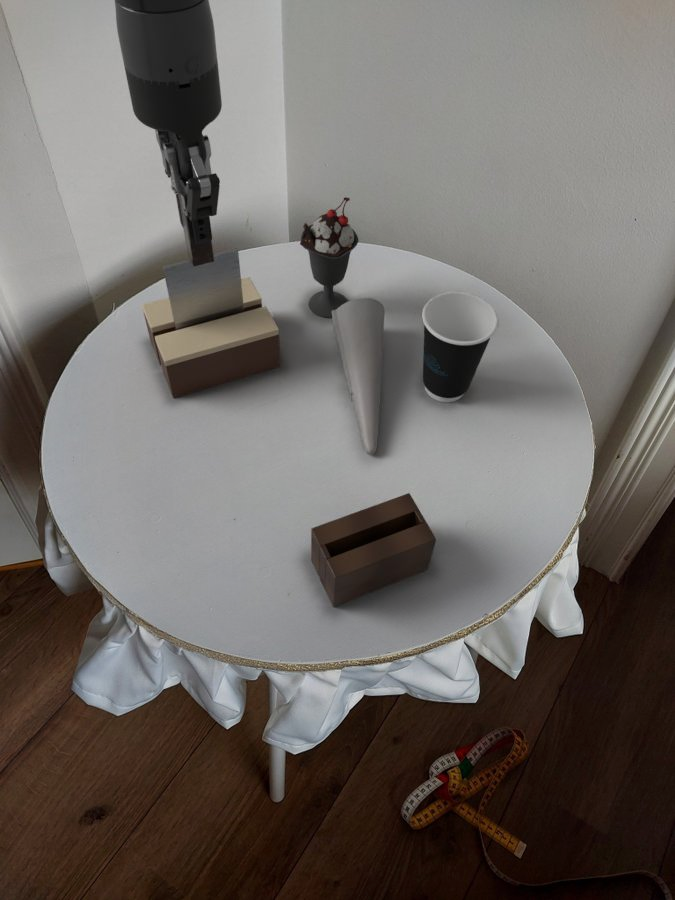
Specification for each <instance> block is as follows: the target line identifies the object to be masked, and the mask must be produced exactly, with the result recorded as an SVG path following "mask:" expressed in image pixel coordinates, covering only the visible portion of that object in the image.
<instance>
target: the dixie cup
mask: <svg viewBox="0 0 675 900" xmlns="http://www.w3.org/2000/svg"><path fill="white" fill-rule="evenodd" d="M421 316H422V322H423V324H424V326H423V355H422V356H423V360H422V361H423V362H422V382H423V385H424V390H425V392H426V394H427V395H428V396H429V397H430V398H432V399H433V400H435V401H437V402H441V403H453V402H457V401H458V400H460V399H461V398H463V397H464V395H465V394H466V393H467V391H468V390H469V388H470V386H471V383H472V382H473V378H474V377H475V375H476V372H477V370H478V368H479V366H480V363H481V360H482V359H483V356H484V354H485V352H486V349H487V347H488V344H489V342H490V340H491V338H492V337H493V335H494V334H495V333H496V332H497V329H498V327H499V316H498V313H497V311H496V310H495V309H494V307H493V306H492V304H490V303H489V302H488V301H487V300H485V299H483V298H482V297H480V296H478V295H476V294H473V293H469V292H465V291H447V292H443V293H439V294H436V295H435V296H433V297H431V298H430V299H429V300H428V301H427V302H426V303H425V305H424V306H423V309H422V314H421Z"/></svg>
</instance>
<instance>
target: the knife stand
mask: <svg viewBox="0 0 675 900" xmlns="http://www.w3.org/2000/svg"><path fill="white" fill-rule="evenodd" d="M310 534H311V535H310V536H311V537H310V541H311V542H310V544H311V545H310V546H311V547H310V560H311V563H312V565H313V567H314V569H315V572H316V573H317V577H318V578H319V580H320V582H321V584H322V587H323V589H324V591H325V593H326V595H327V598H328V599H329V602H330V604H331V606H332V607H333V608H335V607H338V606H340V605H342V604H345V603H347V602H350V601H353V600H355V599H357V598H360V597H363V596H365V595H368V594H370V593H373V592H375V591H378V590H380V589H383V588H385V587H388V586H390V585H393V584H396V583H398V582H400V581H403V580H405V579H408V578H411V577H413V576H416V575H418V574H420V573H423V572H426V571H428V570H429V567H430V563H431V560H432V556H433V552H434V548H435V545H436V543H437V542H436V541H437V538H436V536H435V534H434V532H433V531H432V529H431V527H430V526H429V524H428V522H427V520H426V519H425V517H424V515H423V514H422V512H421V510H420V508H419V506H418V505H417V503H416V502H415V500H414V498H413V497H412V495H411V493H410V492H408V493H405V494H402V495H400V496H397V497H394V498H391V499H389V500H385V501H382V502H380V503H377V504H374V505H372V506H369V507H367V508H364V509H360V510H358V511H356V512H352V513H350V514H347V515H345V516H342V517H339V518H336V519H333V520H331V521H327V522H325V523H322V524H320V525H317V526H315V527H311V529H310Z"/></svg>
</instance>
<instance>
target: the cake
mask: <svg viewBox="0 0 675 900" xmlns="http://www.w3.org/2000/svg"><path fill="white" fill-rule="evenodd" d="M241 285H242V295H243V306H244V312H243V313H239V314H235V315H232V316H228V317H224V318H221V319H217V320H213V321H209V322H206V323H202V324H198V325H195V326H191V327H187V328H184V329H180V330H176V329H175V324H174V320H173V315H172V310H171V305H170V300H169V297H166V298H162V299H159V300H154V301H150V302H147V303H143V304H141V308H142V312H143V316H144V320H145V324H146V328H147V333H148V337H149V340H150V344H151V346H152V349H153V351H154V355H155V356H156V359H157V362H158V364H159V365H160V366H161V370H162V373H163V376H164V379H165V381H166V384H167V385H168V389H169V391H170V394H171V397H172V399H175V398H178V397H183V396H185V395H188V394H189V395H190V394H191V393H195V392H199V391H202V390H205V389H208V388H212V387H216V386H218V385H222V384H225V383H230V382H232V381H235V380H236V381H237V380H239V379H243V378H246V377H249V376H253V375H256V374H259V373H263V372H266V371H269V370H273V369H277V368H280V367H281V350H280V349H281V347H280V329H279V327H278V325H277V324H276V322H275V320H274V318H273V316H272V315H271V313H270V311H269V309H268V307H267V306H263V303H262V301H263V299H262V297H261V295H260V293H259V291H258V289H257V287H256V285H255V284H254V282H253V280H252V279H251V277H250V276H248V277H243V278H241Z"/></svg>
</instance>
